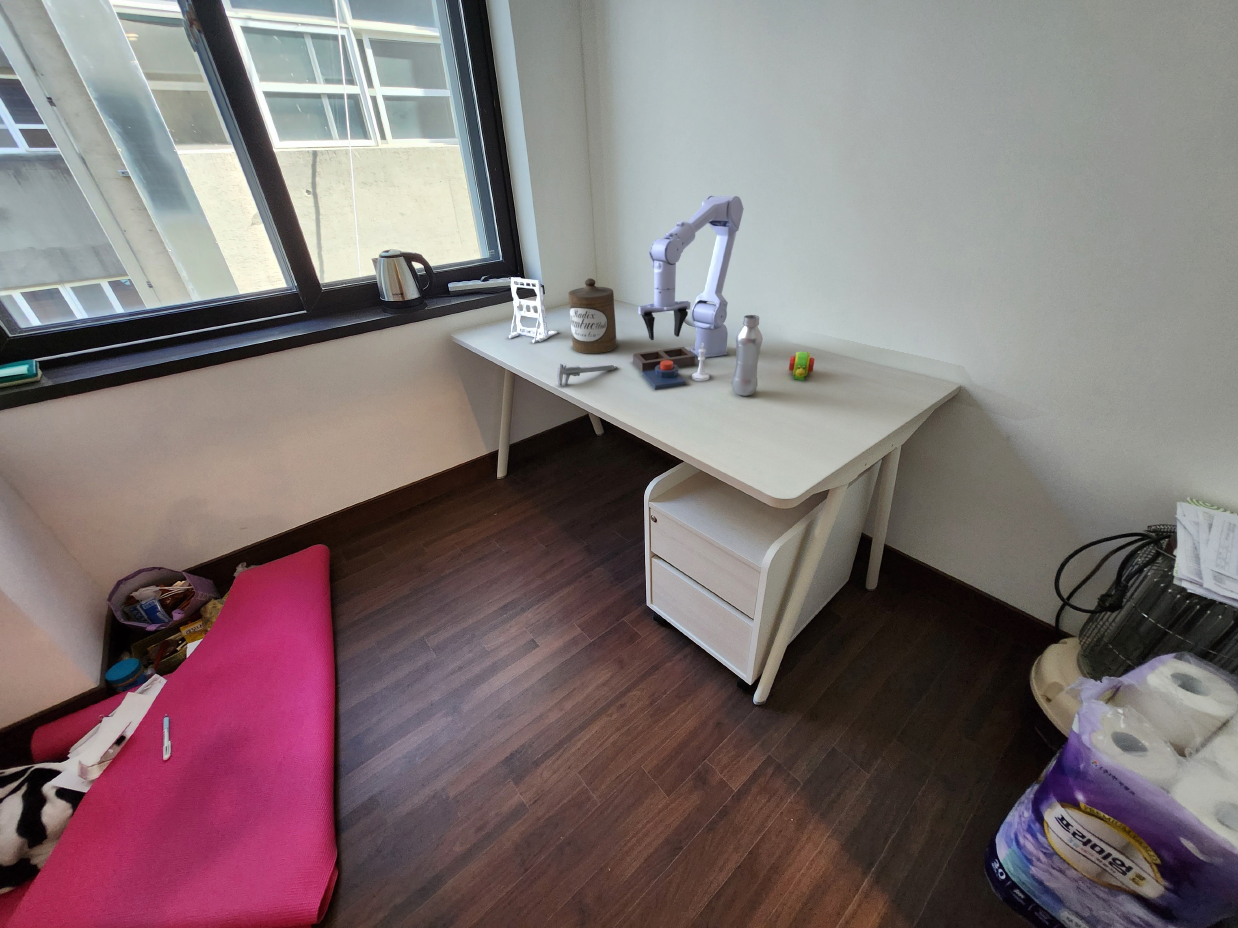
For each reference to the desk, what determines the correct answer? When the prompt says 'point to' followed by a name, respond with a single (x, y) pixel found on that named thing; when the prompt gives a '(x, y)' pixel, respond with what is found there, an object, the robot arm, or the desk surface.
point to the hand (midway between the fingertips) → (664, 337)
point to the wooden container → (592, 318)
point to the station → (664, 377)
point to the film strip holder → (535, 332)
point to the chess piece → (701, 367)
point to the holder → (663, 358)
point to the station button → (666, 365)
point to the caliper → (578, 371)
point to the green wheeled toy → (801, 365)
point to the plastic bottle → (747, 356)
